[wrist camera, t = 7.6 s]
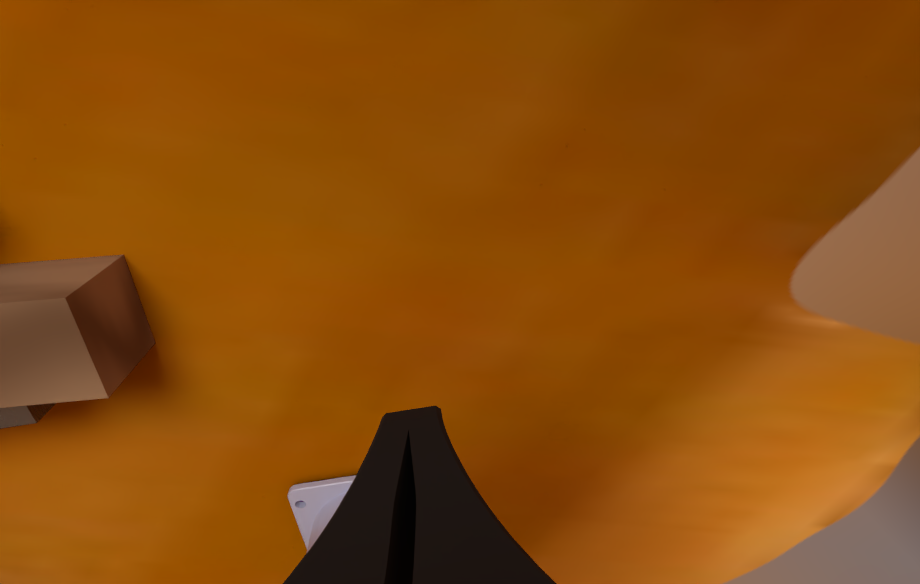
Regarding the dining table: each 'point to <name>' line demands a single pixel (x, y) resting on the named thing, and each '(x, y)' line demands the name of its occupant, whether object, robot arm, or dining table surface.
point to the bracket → (23, 414)
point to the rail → (68, 330)
